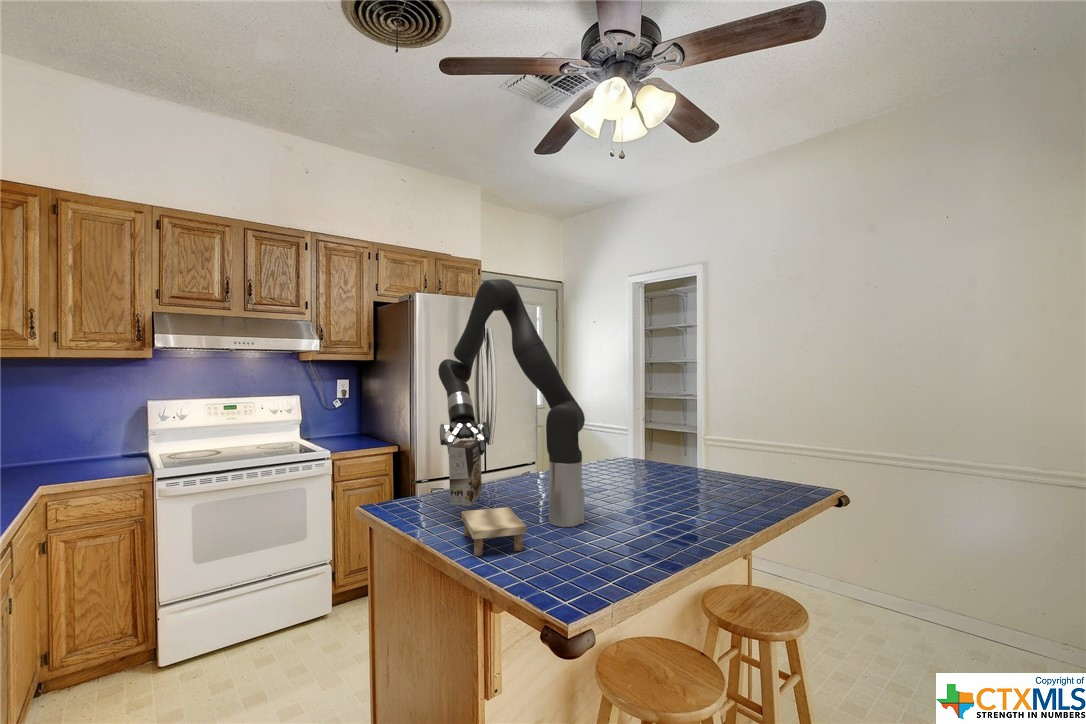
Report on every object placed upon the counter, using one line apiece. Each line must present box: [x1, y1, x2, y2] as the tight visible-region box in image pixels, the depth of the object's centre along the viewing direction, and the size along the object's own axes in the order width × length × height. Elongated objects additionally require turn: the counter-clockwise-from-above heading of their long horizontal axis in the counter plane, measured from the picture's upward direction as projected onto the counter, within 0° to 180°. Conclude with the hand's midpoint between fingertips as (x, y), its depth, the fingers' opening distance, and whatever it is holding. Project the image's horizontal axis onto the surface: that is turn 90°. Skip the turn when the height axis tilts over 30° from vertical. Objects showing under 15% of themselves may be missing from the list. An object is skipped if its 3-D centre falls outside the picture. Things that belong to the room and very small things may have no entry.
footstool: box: [461, 506, 527, 557], centre depth 124 cm, size 13×17×6 cm
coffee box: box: [448, 439, 483, 507], centre depth 140 cm, size 9×6×16 cm
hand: (467, 454), depth 142 cm, fingers closed on coffee box, 8 cm apart
